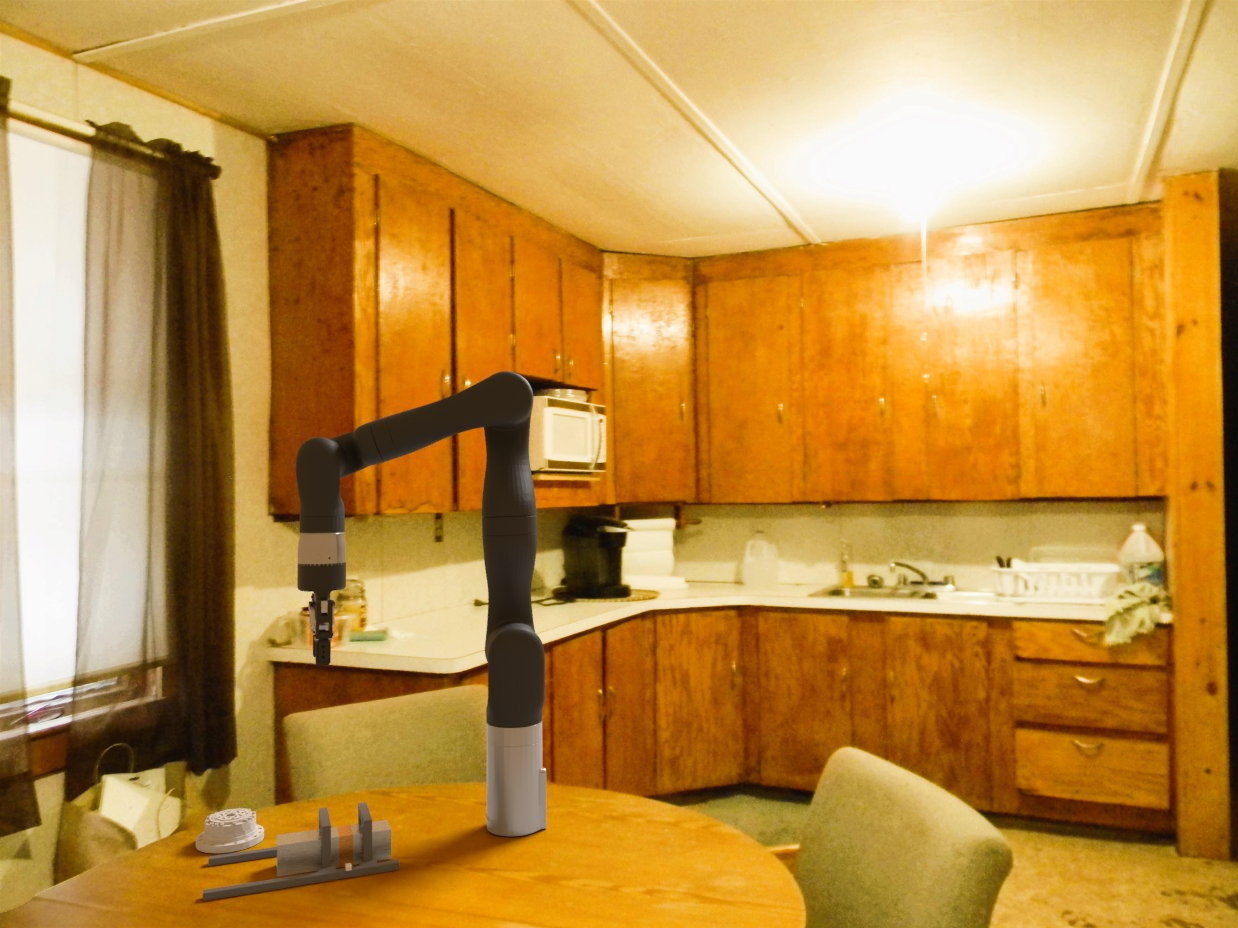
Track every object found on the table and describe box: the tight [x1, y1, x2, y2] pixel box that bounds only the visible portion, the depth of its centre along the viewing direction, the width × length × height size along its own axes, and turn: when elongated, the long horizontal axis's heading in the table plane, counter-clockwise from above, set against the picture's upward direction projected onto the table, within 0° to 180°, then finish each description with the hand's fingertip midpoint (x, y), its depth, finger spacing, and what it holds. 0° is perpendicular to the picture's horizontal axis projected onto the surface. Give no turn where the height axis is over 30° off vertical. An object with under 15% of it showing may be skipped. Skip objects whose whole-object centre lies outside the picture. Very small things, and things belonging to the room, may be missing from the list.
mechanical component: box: [195, 807, 265, 854], centre depth 140 cm, size 10×4×10 cm
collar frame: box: [202, 801, 400, 902], centre depth 130 cm, size 26×14×7 cm, turn 112°
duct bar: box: [276, 819, 392, 878], centre depth 131 cm, size 16×4×4 cm, turn 112°
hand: (321, 660), depth 142 cm, fingers open, 8 cm apart
